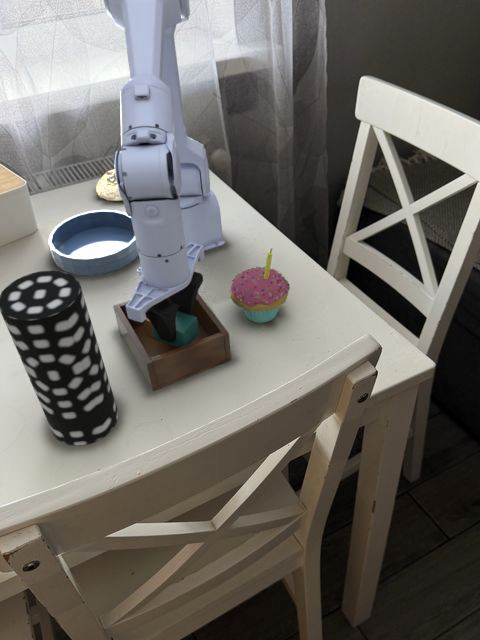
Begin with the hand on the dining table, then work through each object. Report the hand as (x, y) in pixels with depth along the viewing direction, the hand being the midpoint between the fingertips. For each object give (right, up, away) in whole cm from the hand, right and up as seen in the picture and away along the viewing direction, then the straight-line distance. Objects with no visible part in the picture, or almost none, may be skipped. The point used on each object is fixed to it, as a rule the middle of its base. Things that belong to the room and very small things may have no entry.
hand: (176, 329), depth 80 cm
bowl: (-17, +14, +23) cm, 32 cm away
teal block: (0, -1, +1) cm, 1 cm away
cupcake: (+11, +3, +10) cm, 15 cm away
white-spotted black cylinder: (-11, -12, -4) cm, 16 cm away
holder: (-1, -2, +5) cm, 5 cm away
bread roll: (-16, +29, +38) cm, 51 cm away
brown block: (-2, 0, +6) cm, 7 cm away
